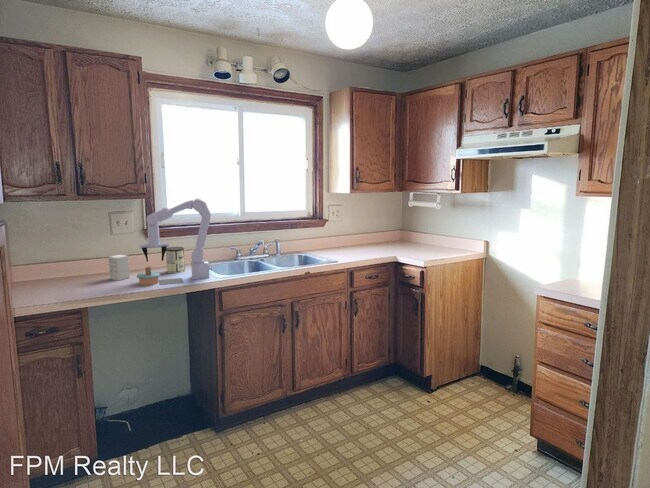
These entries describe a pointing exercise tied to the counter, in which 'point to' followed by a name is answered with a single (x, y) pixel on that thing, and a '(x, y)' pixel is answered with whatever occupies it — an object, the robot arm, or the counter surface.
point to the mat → (170, 281)
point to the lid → (148, 274)
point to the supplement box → (119, 267)
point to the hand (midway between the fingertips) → (155, 260)
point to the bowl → (148, 281)
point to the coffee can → (175, 259)
